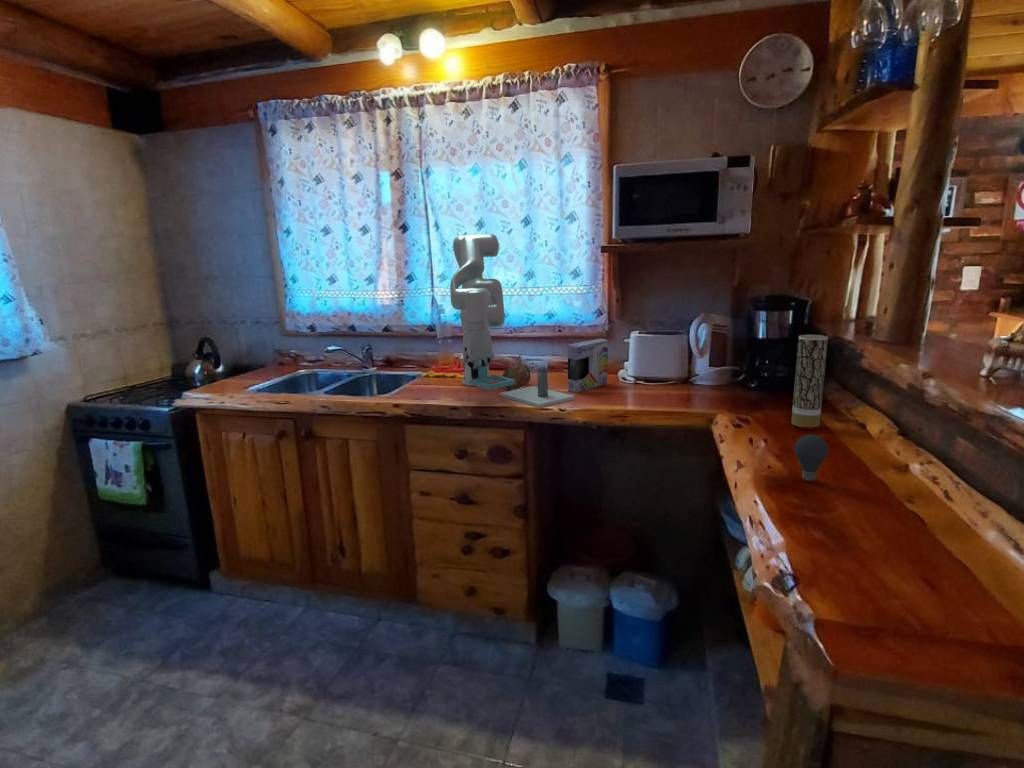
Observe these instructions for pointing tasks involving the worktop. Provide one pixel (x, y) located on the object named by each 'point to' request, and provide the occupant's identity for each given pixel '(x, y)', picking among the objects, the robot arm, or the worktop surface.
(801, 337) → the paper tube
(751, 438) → the worktop surface
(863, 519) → the worktop surface
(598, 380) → the cake pan box
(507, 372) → the tin
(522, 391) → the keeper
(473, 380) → the link
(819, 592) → the worktop surface
